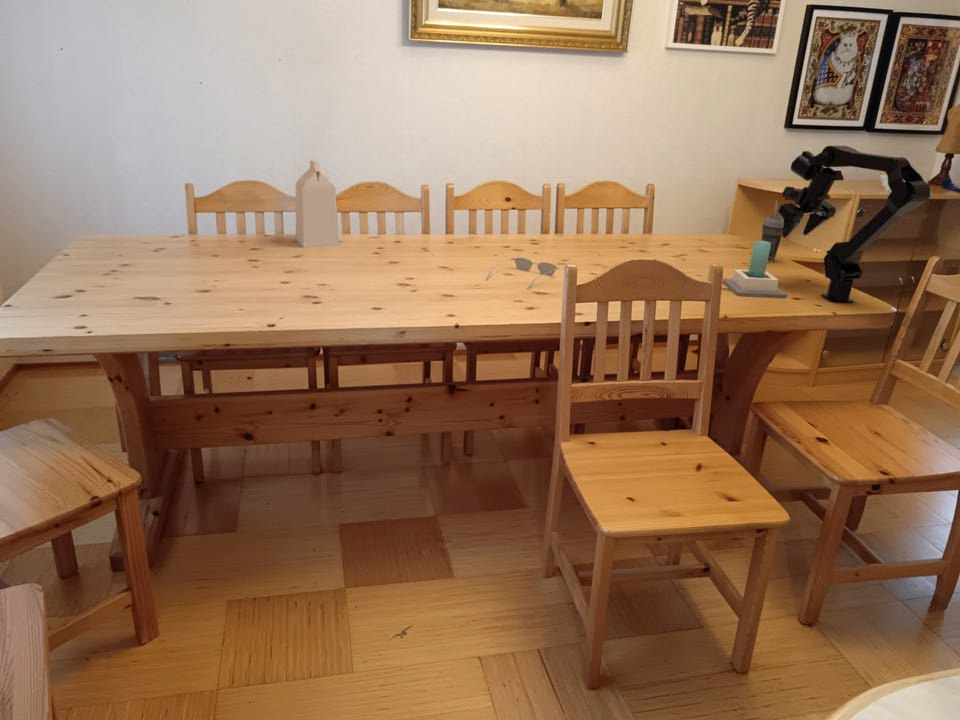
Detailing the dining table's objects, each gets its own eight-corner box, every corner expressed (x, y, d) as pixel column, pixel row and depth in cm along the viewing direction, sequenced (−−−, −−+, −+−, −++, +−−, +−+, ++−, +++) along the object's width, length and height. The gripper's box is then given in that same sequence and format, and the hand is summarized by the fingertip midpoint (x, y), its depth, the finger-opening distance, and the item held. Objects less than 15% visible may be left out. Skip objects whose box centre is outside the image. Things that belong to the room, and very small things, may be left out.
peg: (764, 286, 207) (773, 242, 202) (758, 289, 204) (767, 245, 199) (749, 283, 210) (758, 239, 205) (743, 285, 207) (751, 241, 202)
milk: (296, 239, 237) (291, 158, 227) (330, 237, 241) (327, 158, 231) (303, 247, 227) (299, 163, 217) (339, 245, 231) (337, 163, 221)
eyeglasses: (558, 278, 210) (559, 265, 209) (530, 292, 196) (531, 278, 194) (512, 268, 217) (513, 256, 216) (482, 281, 203) (483, 268, 202)
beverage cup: (764, 263, 237) (776, 203, 229) (750, 258, 243) (762, 199, 236) (782, 263, 239) (795, 203, 231) (769, 257, 245) (781, 199, 237)
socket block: (786, 298, 201) (789, 282, 199) (737, 295, 201) (740, 280, 199) (767, 283, 214) (770, 269, 212) (721, 281, 214) (724, 267, 212)
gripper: (818, 174, 213) (795, 220, 222) (776, 176, 204) (753, 224, 214) (848, 191, 206) (822, 238, 215) (805, 195, 197) (780, 244, 207)
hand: (794, 236), depth 213 cm, fingers open, 9 cm apart
